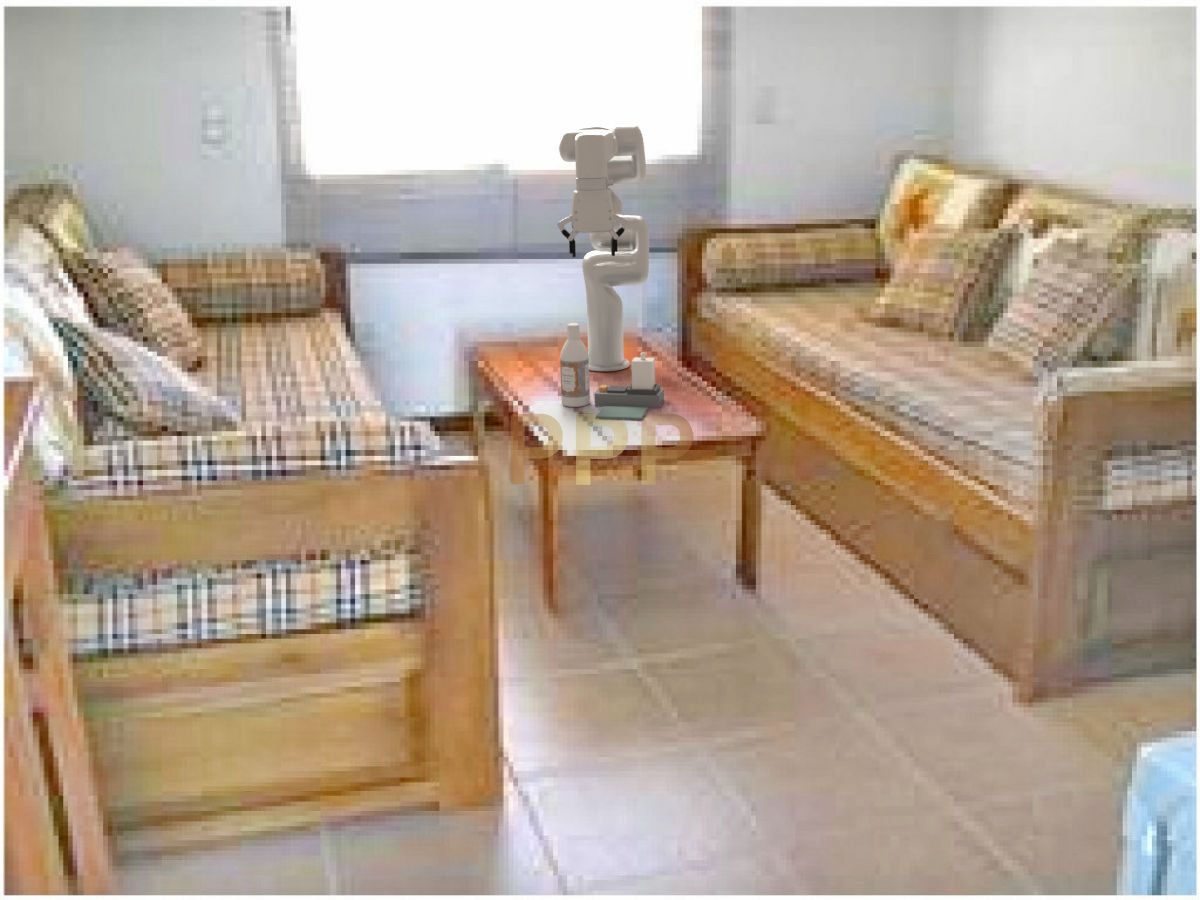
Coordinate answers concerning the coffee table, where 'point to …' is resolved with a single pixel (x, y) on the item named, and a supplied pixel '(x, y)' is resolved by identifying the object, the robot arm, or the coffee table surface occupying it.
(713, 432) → the coffee table surface
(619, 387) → the power strip
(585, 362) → the bath foam
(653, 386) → the block
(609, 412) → the mat
